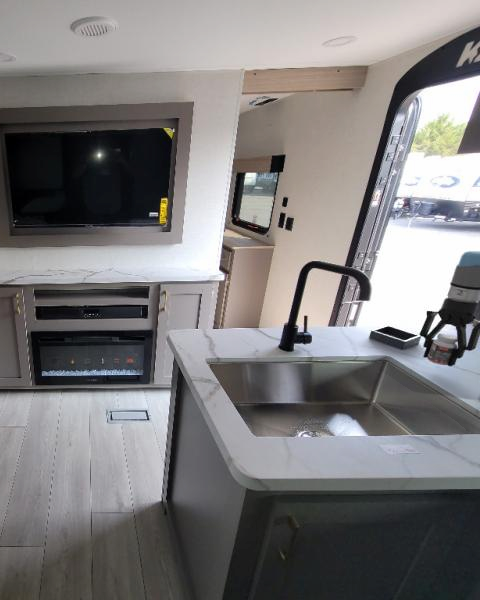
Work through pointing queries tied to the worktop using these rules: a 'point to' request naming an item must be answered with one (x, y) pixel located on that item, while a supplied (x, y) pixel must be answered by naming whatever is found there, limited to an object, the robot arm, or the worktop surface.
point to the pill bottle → (442, 349)
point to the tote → (395, 337)
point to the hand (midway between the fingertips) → (438, 360)
